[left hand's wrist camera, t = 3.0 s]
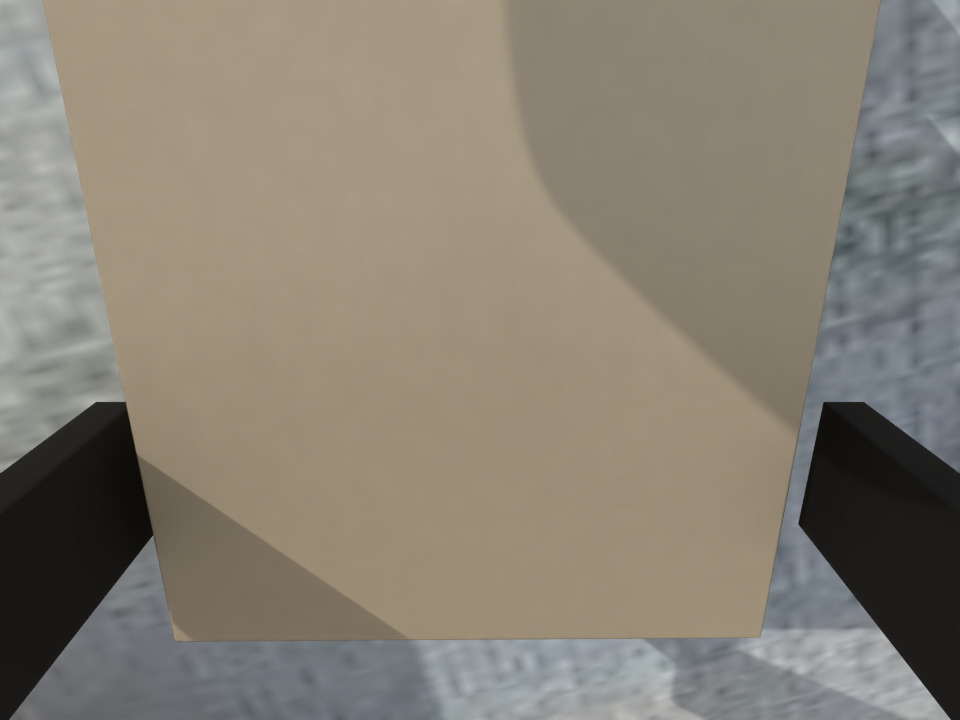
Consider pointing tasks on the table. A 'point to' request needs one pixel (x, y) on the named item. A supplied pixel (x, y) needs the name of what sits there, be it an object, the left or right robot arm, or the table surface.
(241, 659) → the table surface
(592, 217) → the tan box
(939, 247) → the table surface
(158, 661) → the table surface
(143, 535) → the left robot arm
